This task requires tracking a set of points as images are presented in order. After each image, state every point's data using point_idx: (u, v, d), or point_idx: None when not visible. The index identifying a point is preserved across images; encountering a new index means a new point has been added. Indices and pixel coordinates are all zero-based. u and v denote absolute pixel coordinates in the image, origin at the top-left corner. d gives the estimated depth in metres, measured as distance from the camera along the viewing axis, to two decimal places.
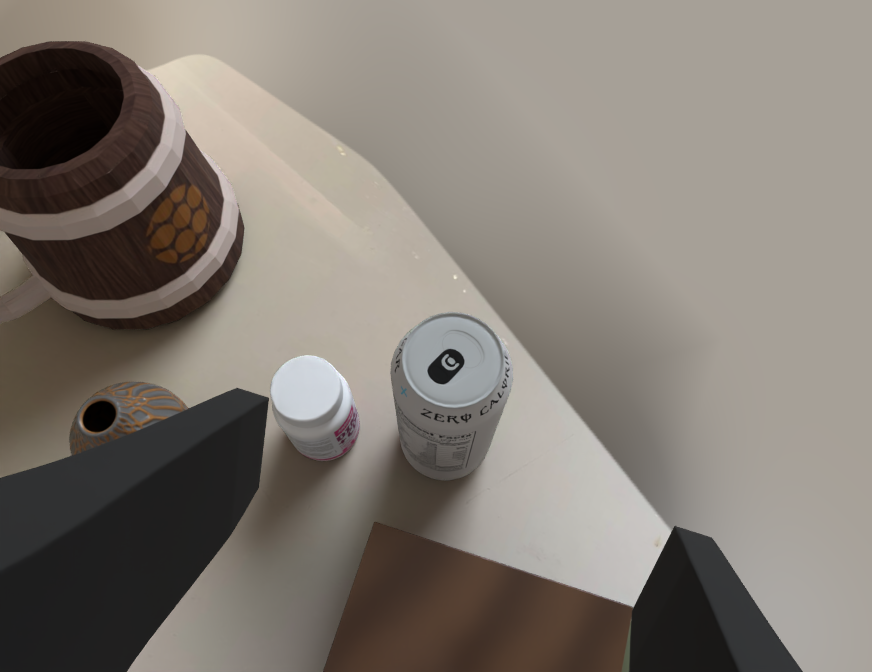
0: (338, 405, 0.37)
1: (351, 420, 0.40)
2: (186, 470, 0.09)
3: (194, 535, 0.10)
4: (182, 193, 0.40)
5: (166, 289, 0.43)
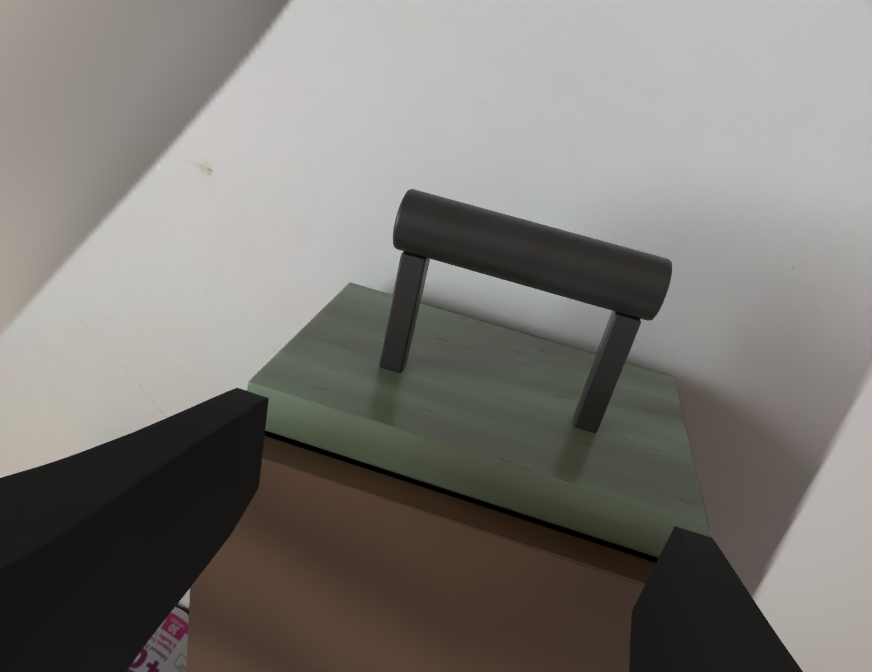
0: None
1: None
2: (186, 470, 0.09)
3: (194, 535, 0.10)
4: None
5: None
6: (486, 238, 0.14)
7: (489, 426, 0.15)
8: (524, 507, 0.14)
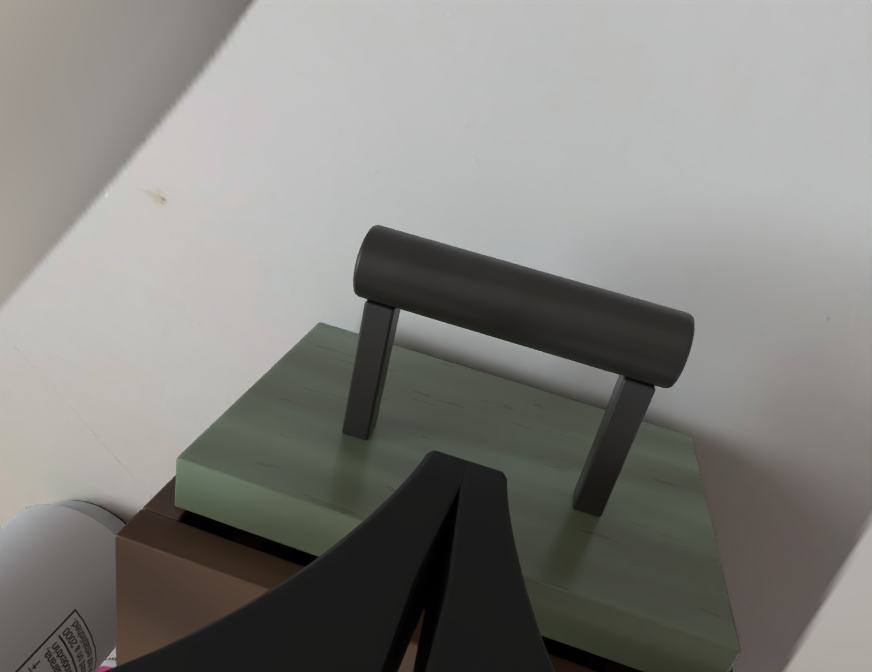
0: None
1: None
2: (430, 551, 0.09)
3: (416, 611, 0.10)
4: None
5: None
6: (465, 287, 0.11)
7: None
8: None
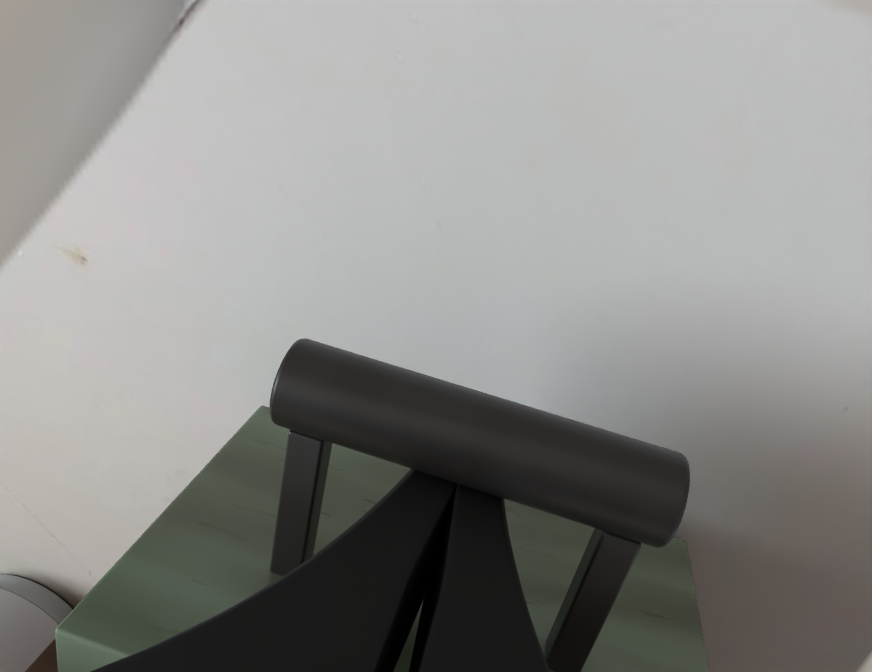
0: None
1: None
2: (426, 550, 0.09)
3: (412, 610, 0.10)
4: None
5: None
6: (406, 426, 0.09)
7: None
8: None
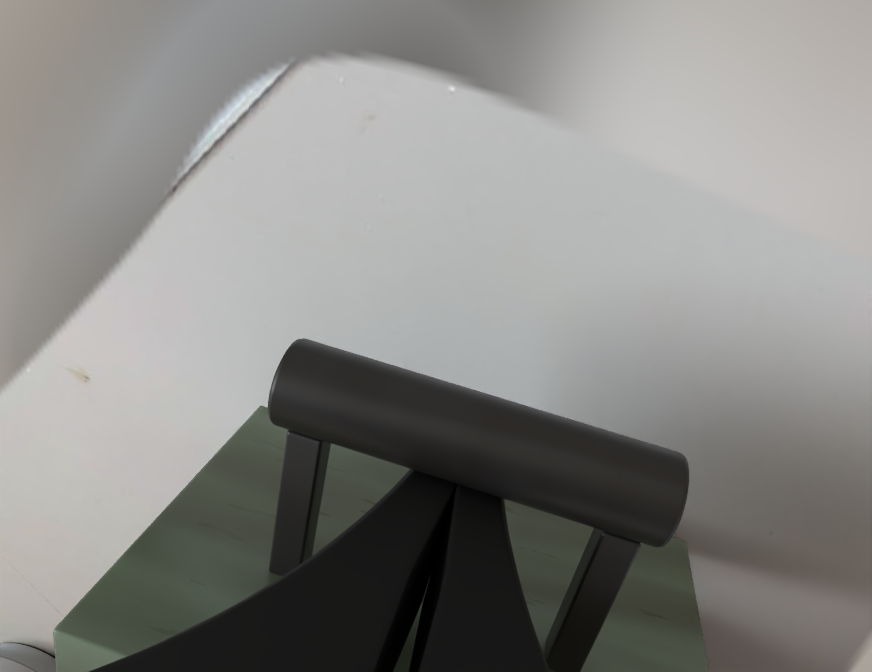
0: None
1: None
2: (426, 550, 0.09)
3: (412, 610, 0.10)
4: None
5: None
6: (404, 427, 0.09)
7: None
8: None
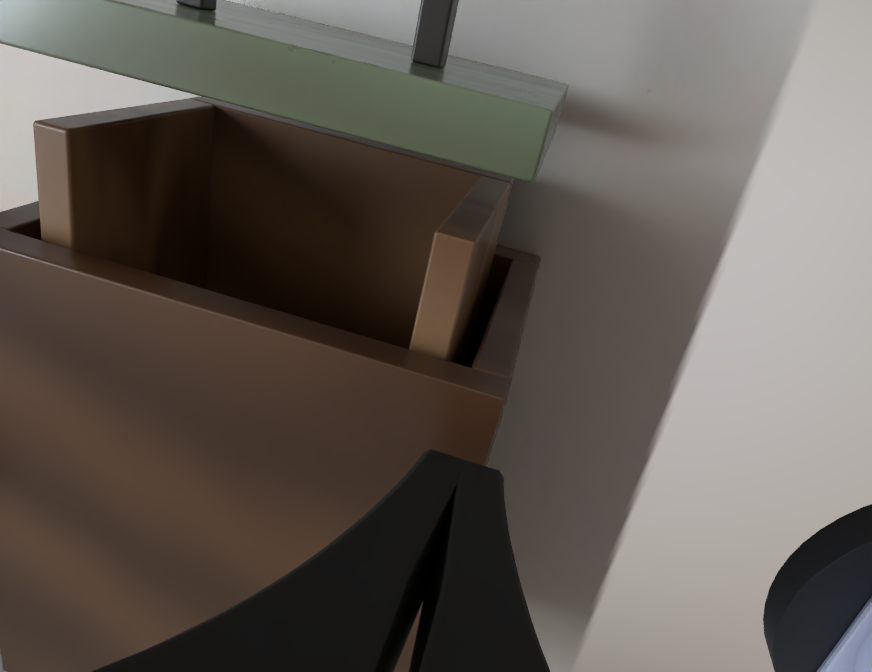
0: None
1: None
2: (426, 550, 0.09)
3: (412, 610, 0.10)
4: None
5: None
6: None
7: (294, 38, 0.12)
8: (327, 116, 0.11)
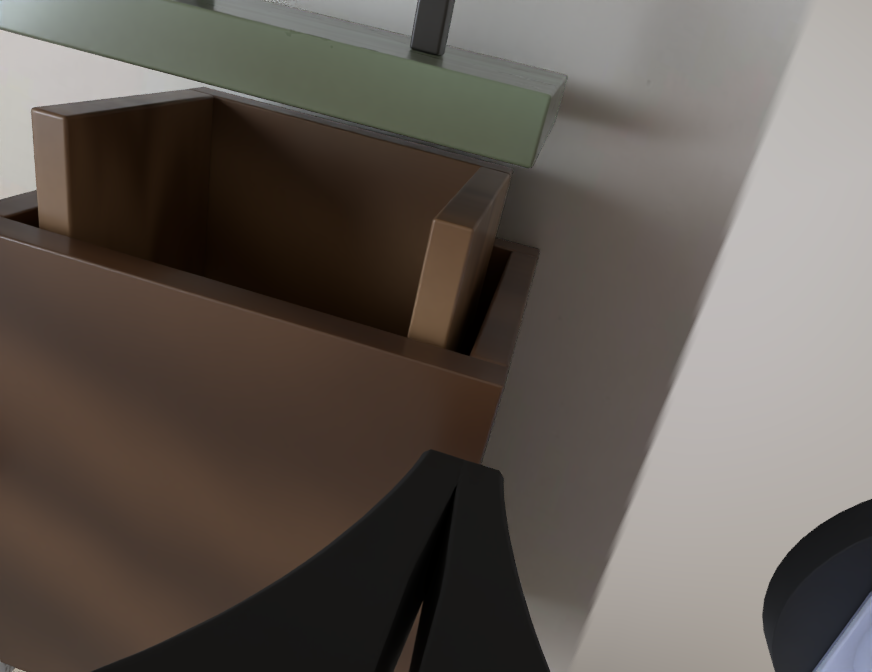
0: None
1: None
2: (426, 550, 0.09)
3: (412, 610, 0.10)
4: None
5: None
6: None
7: (292, 24, 0.12)
8: (325, 101, 0.11)
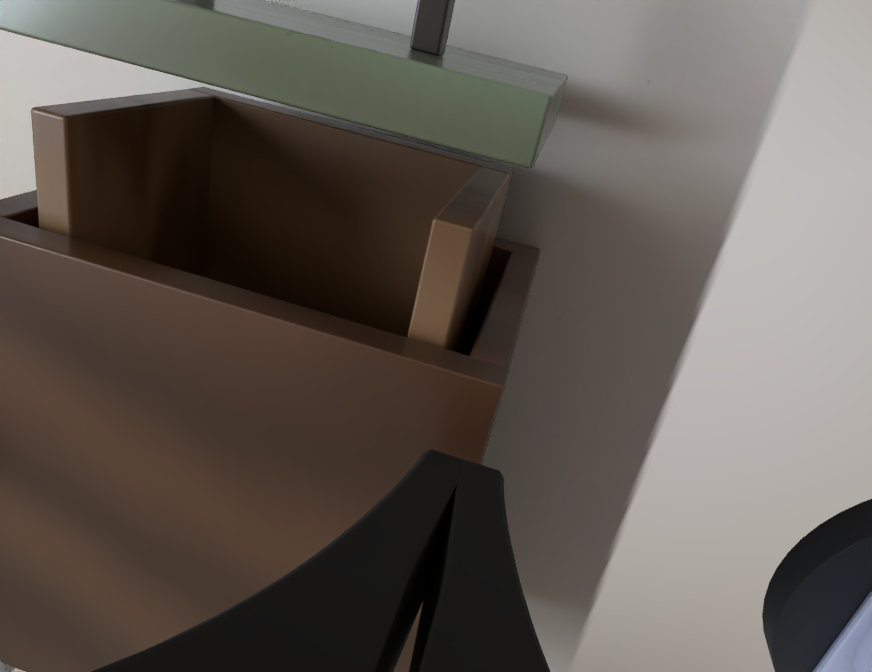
0: None
1: None
2: (426, 550, 0.09)
3: (412, 610, 0.10)
4: None
5: None
6: None
7: (292, 24, 0.12)
8: (325, 101, 0.11)
